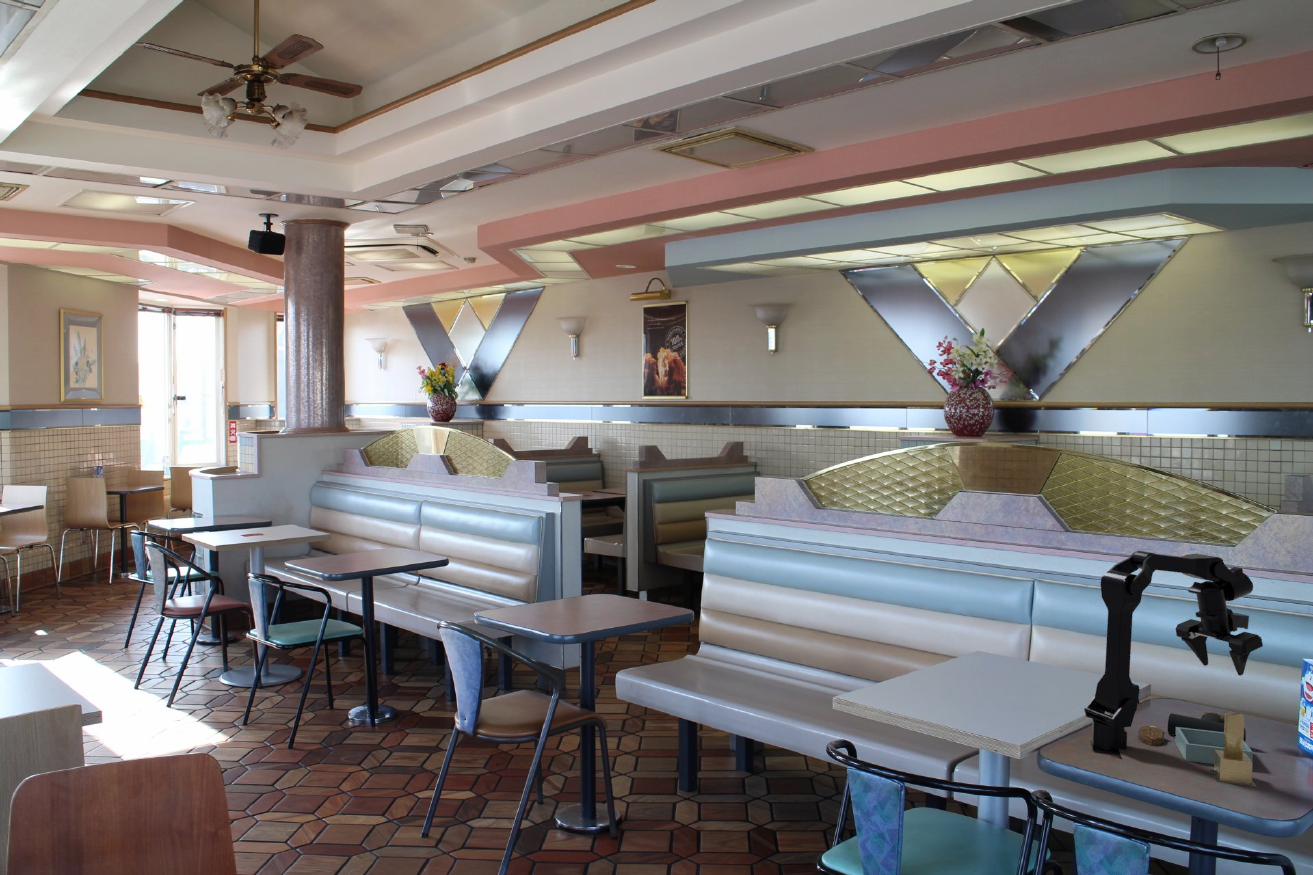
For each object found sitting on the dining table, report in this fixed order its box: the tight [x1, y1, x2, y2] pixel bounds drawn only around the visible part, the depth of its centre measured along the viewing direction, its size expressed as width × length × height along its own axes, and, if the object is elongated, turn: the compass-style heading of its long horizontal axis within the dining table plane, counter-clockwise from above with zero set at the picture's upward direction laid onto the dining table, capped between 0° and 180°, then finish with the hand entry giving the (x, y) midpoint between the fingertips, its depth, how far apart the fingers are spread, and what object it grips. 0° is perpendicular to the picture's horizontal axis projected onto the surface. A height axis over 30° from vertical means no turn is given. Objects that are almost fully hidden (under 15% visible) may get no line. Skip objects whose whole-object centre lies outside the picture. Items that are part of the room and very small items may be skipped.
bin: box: [1174, 727, 1254, 765], centre depth 207 cm, size 12×12×4 cm
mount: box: [1209, 769, 1257, 787], centre depth 194 cm, size 7×7×4 cm
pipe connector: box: [1167, 711, 1247, 743], centre depth 222 cm, size 12×5×15 cm
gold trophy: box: [1213, 711, 1253, 785], centre depth 193 cm, size 6×6×13 cm
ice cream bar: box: [1137, 725, 1165, 746], centre depth 219 cm, size 5×4×15 cm
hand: (1223, 669), depth 223 cm, fingers open, 9 cm apart
